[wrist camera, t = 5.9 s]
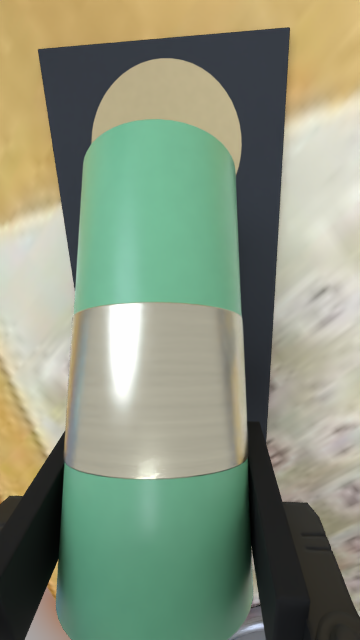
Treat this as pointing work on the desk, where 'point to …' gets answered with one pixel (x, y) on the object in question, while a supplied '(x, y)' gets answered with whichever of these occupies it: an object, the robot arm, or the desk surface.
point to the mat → (198, 110)
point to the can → (156, 395)
